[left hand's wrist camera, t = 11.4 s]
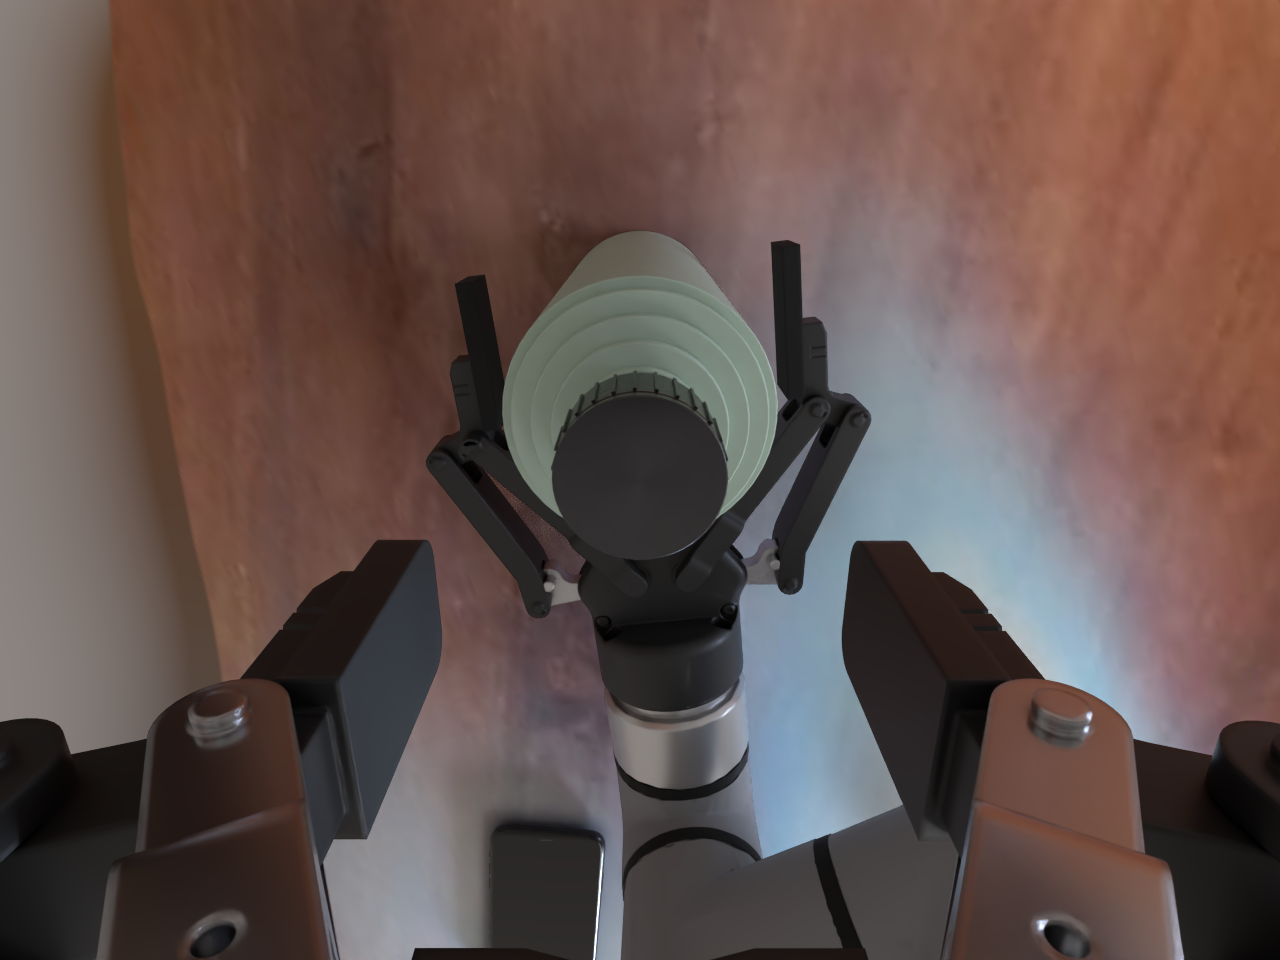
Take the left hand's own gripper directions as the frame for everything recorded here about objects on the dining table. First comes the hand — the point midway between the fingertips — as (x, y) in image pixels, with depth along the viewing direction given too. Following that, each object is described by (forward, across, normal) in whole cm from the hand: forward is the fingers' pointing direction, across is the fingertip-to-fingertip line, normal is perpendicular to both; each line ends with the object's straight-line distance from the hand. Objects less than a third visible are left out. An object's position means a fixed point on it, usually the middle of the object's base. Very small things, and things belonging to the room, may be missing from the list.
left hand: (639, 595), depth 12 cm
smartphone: (+30, +7, +43) cm, 52 cm away
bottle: (+30, 0, 0) cm, 30 cm away
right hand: (+23, +1, -3) cm, 24 cm away
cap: (+5, 0, 0) cm, 5 cm away
